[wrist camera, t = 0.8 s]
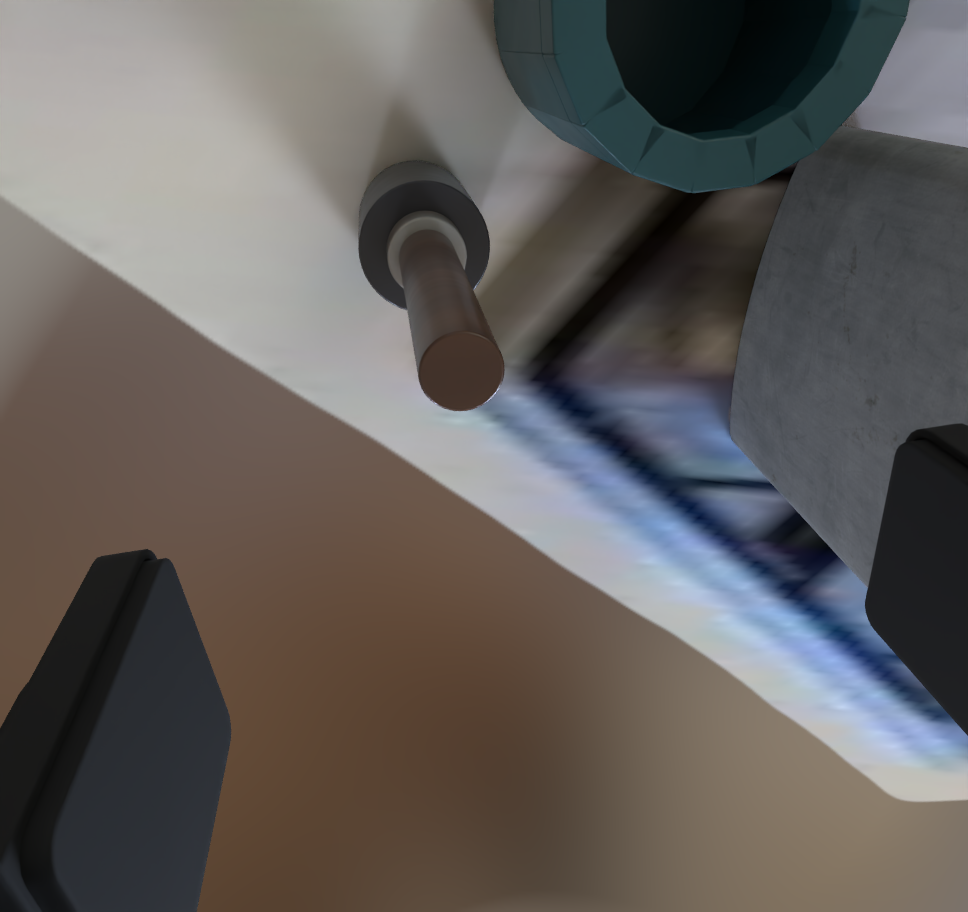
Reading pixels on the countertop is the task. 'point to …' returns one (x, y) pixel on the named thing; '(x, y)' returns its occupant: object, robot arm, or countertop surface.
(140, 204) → the countertop surface
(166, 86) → the countertop surface
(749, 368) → the hip flask
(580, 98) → the jar
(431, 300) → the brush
